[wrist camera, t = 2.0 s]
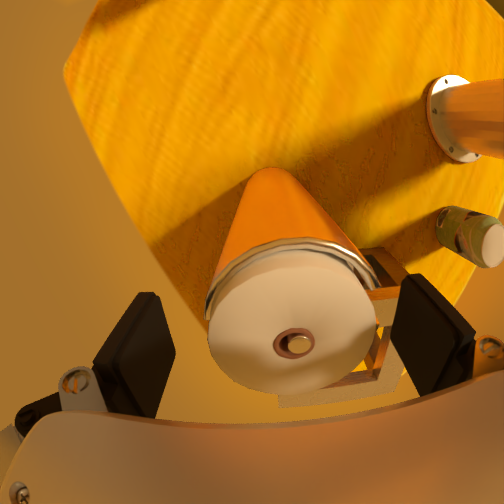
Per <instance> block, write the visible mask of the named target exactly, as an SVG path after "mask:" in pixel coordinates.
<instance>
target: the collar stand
mask: <svg viewBox="0 0 504 504" xmlns="http://www.w3.org/2000/svg"><path fill="white" fill-rule="evenodd" d="M358 250H359V251H360V253H361V254H362V255H363V256H364V258H365V259H366V260H367V261H368V263H369V264H370V265H371V267H372V268H373V270H374V272H375V274H376V276H377V278H378V280H379V283H380V285H381V287H379V288H377V289H375V290H373V291H371V290H370V289H369V287H368V286H367V284H366V282H365V281H364V279H363V278H362V276H361V275H360V273H359V272H358V270H357V269H356V268H355V267H353V272H354V274H355V275H356V277H357V279H359V282H360V283H361V285H362V287H363V288H364V290H365V291H366V293H367V295H368V297H369V299H370V301H371V303H372V305H373V307H374V311H375V316H376V318H377V319H378V321H379V323H380V325H379V327H384V330H383V334H382V338H381V340H380V338H379V336H378V334H377V332H376V333H375V335H374V339H373V342H372V345H371V347H370V349H369V351H368V353H367V355H366V357H365V358H364V362H365V364H366V367H367V370H364V371H357V372H351V373H349V374H347V375H346V376H344V377H343V378H342V379H340V380H339V381H337V382H335V383H332V384H330V385H328V386H325V387H323V388H320V389H317V390H314V391H311V392H308V393H304V394H295V395H278V399H279V408H284V407H298V406H310V405H319V404H327V403H335V402H342V401H348V400H354V399H360V398H365V397H371V396H376V395H380V394H385V393H389V392H394V390H395V388H396V386H397V383H398V381H399V379H400V376H401V374H402V371H403V369H404V364H403V362H402V360H401V359H400V357H399V355H398V353H397V351H396V349H395V348H394V346H393V344H392V342H391V339H390V332H391V328H392V324H393V320H394V316H395V312H396V307H397V302H398V298H399V293H400V288H401V282H402V280H403V279H405V277H406V276H407V275H409V273H408V272H407V271H406V270H405V269H404V268H403V267H402V266H401V264H400V263H399V262H398V261H397V260H396V259H395V258H394V257H393V256H392V255H391V254H390V253H389V252H388V251H387V250H386V249H385V248H384V247H383V248H367V249H358Z"/></svg>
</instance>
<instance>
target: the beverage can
mask: <svg viewBox="0 0 504 504" xmlns="http://www.w3.org/2000/svg"><path fill="white" fill-rule="evenodd" d="M435 230H436V236H437V239H438V241H439V242H440V243H441V244H442V245H443V246H445V247H446V248H448V249H450V250H452V251H453V252H455V253H457V254H459V255H460V256H462V257H464V258H465V259H467V260H469V261H471V262H472V263H474V264H475V265H477V266H479V267H481V268H490V267H496V266H497V265H499V264H500V263H501V262H502V261H503V259H504V227H503V226H502V224H501V222H500V221H499V220H498V219H496V218H495V217H492V216H489V215H485V214H482V213H479V212H475V211H471V210H468V209H464V208H461V207H457V206H448V207H446V208H444V209H443V210H442V211H441V212H440V214H439V216H438V218H437V221H436V226H435Z"/></svg>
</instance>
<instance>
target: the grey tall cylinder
mask: <svg viewBox="0 0 504 504" xmlns="http://www.w3.org/2000/svg"><path fill="white" fill-rule="evenodd" d="M353 267H355V268H356V269H357V270H358V272H359V273H360V275H361V276H362V278H363V279H364V281H365V282H366V284H367V286H368V287H369V289H370V290H371V291H373V290H375V289H377V288H379V287H381V285H380V283H379V280H378V278H377V276H376V274H375V272H374V270H373V268H372V267H371V265H370V264H369V263H368V261H367V260H366V259H365V258H364V256H363V255H362V254H361V253H360V251H359V250H358V249H357V248H356V247H355V245H354V244H353V243H352V242H351V240H350V239H349V238H348V237H347V236H346V234H345V233H344V232H343V231H342V230H341V229H340V227H339V226H338V225H337V224H336V223H335V222H334V220H333V219H332V218H331V217H330V216H329V215H328V213H327V212H326V211H325V210H324V209H323V208H322V207H321V206H320V204H319V203H318V202H317V201H316V200H315V199H314V198H313V197H312V196H311V194H310V193H309V192H308V191H307V190H306V189H305V188H304V187H303V186H302V185H301V184H300V183H299V182H298V180H297V179H296V178H295V177H294V176H293V175H291V174H290V173H289V172H288V171H286V170H284V169H282V168H277V167H268V168H264V169H261V170H259V171H257V172H256V173H255V174H253V175H252V177H251V178H250V179H249V180H248V182H247V185H246V187H245V189H244V192H243V195H242V197H241V200H240V203H239V206H238V208H237V211H236V214H235V216H234V219H233V222H232V225H231V227H230V230H229V233H228V236H227V238H226V241H225V244H224V247H223V250H222V253H221V255H220V258H219V261H218V264H217V267H216V270H215V272H214V275H213V278H212V281H211V284H210V287H209V290H208V293H207V296H206V299H205V308H204V318H203V319H204V320H209V327H208V338H207V340H208V344H209V348H210V352H211V355H212V357H213V358H214V360H215V361H216V363H217V364H218V366H219V367H220V368H221V370H222V371H224V373H226V374H227V375H228V376H229V377H230V378H231V379H232V380H233V381H234V382H237V383H238V384H240V385H243V386H245V387H247V388H249V389H253V390H257V391H261V392H265V393H270V394H278V395H295V394H304V393H308V392H311V391H314V390H317V389H320V388H323V387H325V386H328V385H330V384H332V383H335V382H337V381H339V380H340V379H342V378H343V377H344V376H346V375H347V374H349V373H350V372H351V371H353V370H354V369H355V368H356V367H357V366H358V364H359V363H360V362H361V361H362V360H363V359H364V358H365V357H366V355H367V353H368V351H369V349H370V347H371V345H372V342H373V339H374V335H375V333H376V331H377V329H378V327H379V325H380V323H379V321H378V319H377V318H376V316H375V311H374V307H373V305H372V303H371V301H370V299H369V297H368V295H367V293H366V291H365V290H364V288H363V287H362V285H361V283H360V282H359V280H358V279H357V277H356V275H355V274H354V272H353Z"/></svg>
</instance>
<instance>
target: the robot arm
mask: <svg viewBox="0 0 504 504" xmlns="http://www.w3.org/2000/svg"><path fill="white" fill-rule="evenodd" d="M426 108H427V117H428V123H429V126H430V129H431V132H432V134H433V136H434V139H435V140H436V142H437V144H438V145H439V147H440V148H441V149H442V150H443V152H444V153H445V154H447V155H448V156H449V157H450V158H452V159H454V160H456V161H459V162H464V163H470V162H474V161H476V160H478V159H479V158H480V157H481V156H482V155H485V156H490V157H495V158H499V159H504V79H496V80H487V81H479V82H472V83H469V82H468V81H466V80H465V79H463V78H461V77H459V76H455V75H446V76H442V77H440V78H438V79H436V80H435V81H434V82H433V84H432V85H431V87H430V89H429V92H428V95H427V103H426ZM475 334H476V331H475V330H474V329H473V328H472V327H471V325H470V324H469V323H468V322H467V321H466V320H465V319H464V318H463V316H462V315H461V314H460V313H459V312H458V311H457V310H456V309H455V308H454V307H453V306H452V305H451V304H450V303H449V301H448V300H447V299H446V298H445V297H444V296H443V295H442V294H441V293H440V292H439V291H438V290H437V289H436V288H435V287H434V286H433V285H432V284H431V283H430V282H429V281H428V280H427V279H426V278H425V277H424V276H423V275H422V274H420V273H418V274H409V275H407V276H406V277H405V279H403V280H402V282H401V288H400V293H399V298H398V302H397V307H396V312H395V316H394V320H393V324H392V328H391V332H390V339H391V342H392V344H393V346H394V348H395V349H396V351H397V353H398V355H399V357H400V359H401V360H402V362H403V364H404V366H405V368H406V370H407V372H408V374H409V376H410V377H411V379H412V381H413V383H414V385H415V387H416V389H417V391H418V393H419V395H420V397H418V398H415V399H412V400H408V401H405V402H401V403H397V404H393V405H389V406H385V407H381V408H377V409H372V410H368V411H363V412H358V413H352V414H346V415H341V416H335V417H328V418H320V419H312V420H303V421H293V422H280V423H258V424H215V423H196V422H182V421H172V420H162V419H155V417H156V414H157V410H158V407H159V404H160V401H161V398H162V395H163V392H164V389H165V386H166V383H167V380H168V377H169V373H170V371H171V368H172V365H173V362H174V359H175V355H176V353H175V352H176V351H175V347H174V344H173V341H172V337H171V334H170V331H169V328H168V324H167V321H166V318H165V314H164V311H163V307H162V303H161V300H160V297H159V296H156V295H155V293H154V292H140V293H138V295H137V296H136V297H135V299H134V300H133V302H132V303H131V304H130V306H129V307H128V309H127V310H126V311H125V313H124V314H123V316H122V317H121V319H120V320H119V322H118V323H117V325H116V326H115V328H114V329H113V331H112V332H111V334H110V335H109V337H108V338H107V340H106V341H105V343H104V345H103V346H102V348H101V349H100V351H99V352H98V354H97V355H96V357H95V358H94V360H93V364H94V365H93V367H92V369H90V368H88V367H84V366H80V367H75V368H72V369H70V370H68V371H67V372H66V373H64V374H63V376H62V377H61V378H60V381H59V384H58V389H59V392H57V393H55V394H52V395H50V396H47V397H45V398H43V399H40V400H38V401H35V402H33V403H31V404H28V405H26V406H24V407H23V408H21V410H20V411H19V412H18V413H17V415H16V418H15V426H13V425H12V424H10V425H9V426H7V427H6V428H5V429H4V430H2V431H1V432H0V504H504V343H503V342H502V341H501V340H500V339H498V338H496V337H494V336H490V335H483V336H481V337H479V338H478V339H477V340H476V341H475V340H474V336H475Z"/></svg>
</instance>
